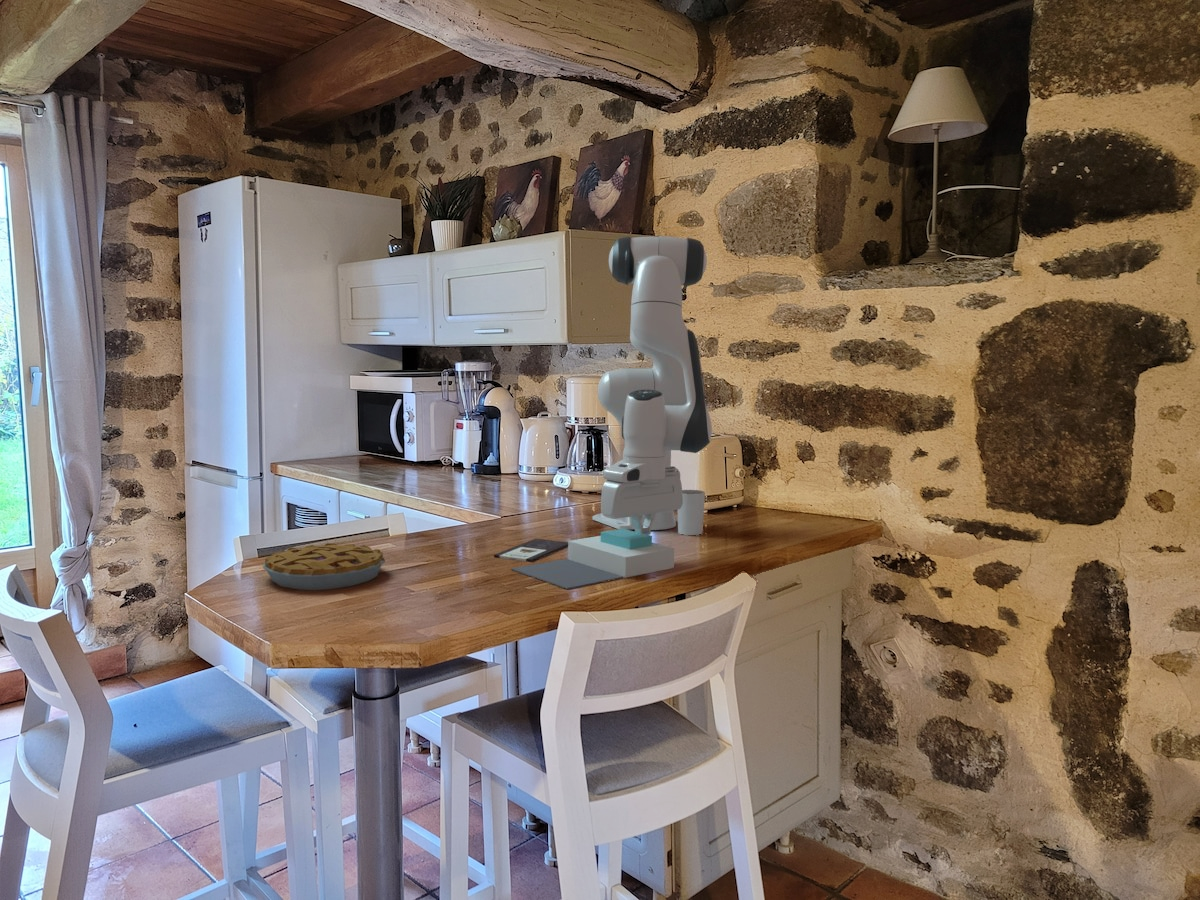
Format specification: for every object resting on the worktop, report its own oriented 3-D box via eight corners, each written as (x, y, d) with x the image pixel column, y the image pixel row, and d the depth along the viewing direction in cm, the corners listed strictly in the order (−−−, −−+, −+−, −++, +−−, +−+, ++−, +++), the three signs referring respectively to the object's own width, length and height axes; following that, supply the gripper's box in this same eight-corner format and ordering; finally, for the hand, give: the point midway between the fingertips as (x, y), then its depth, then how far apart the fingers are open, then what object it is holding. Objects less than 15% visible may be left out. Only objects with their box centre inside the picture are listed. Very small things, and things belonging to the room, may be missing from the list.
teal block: (600, 541, 181) (600, 532, 181) (622, 538, 185) (622, 528, 185) (629, 549, 175) (629, 539, 174) (651, 545, 178) (651, 535, 178)
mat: (511, 569, 173) (511, 568, 173) (566, 560, 182) (566, 558, 182) (566, 589, 160) (566, 588, 159) (623, 578, 168) (623, 576, 168)
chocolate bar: (571, 542, 196) (531, 559, 180) (571, 546, 196) (531, 564, 180) (535, 538, 200) (494, 554, 184) (535, 542, 200) (494, 559, 184)
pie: (341, 558, 182) (340, 534, 181) (408, 576, 168) (407, 551, 168) (241, 578, 165) (240, 552, 165) (306, 600, 151) (305, 572, 151)
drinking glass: (671, 534, 209) (672, 492, 208) (682, 529, 215) (683, 488, 214) (698, 537, 206) (699, 495, 205) (708, 532, 212) (709, 491, 211)
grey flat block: (568, 559, 182) (568, 540, 182) (615, 551, 190) (615, 533, 190) (625, 577, 168) (625, 557, 168) (673, 567, 177) (674, 548, 176)
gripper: (669, 464, 190) (667, 526, 192) (596, 471, 177) (595, 538, 178) (690, 467, 185) (688, 531, 187) (617, 474, 172) (616, 544, 174)
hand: (642, 535), depth 182 cm, fingers closed
